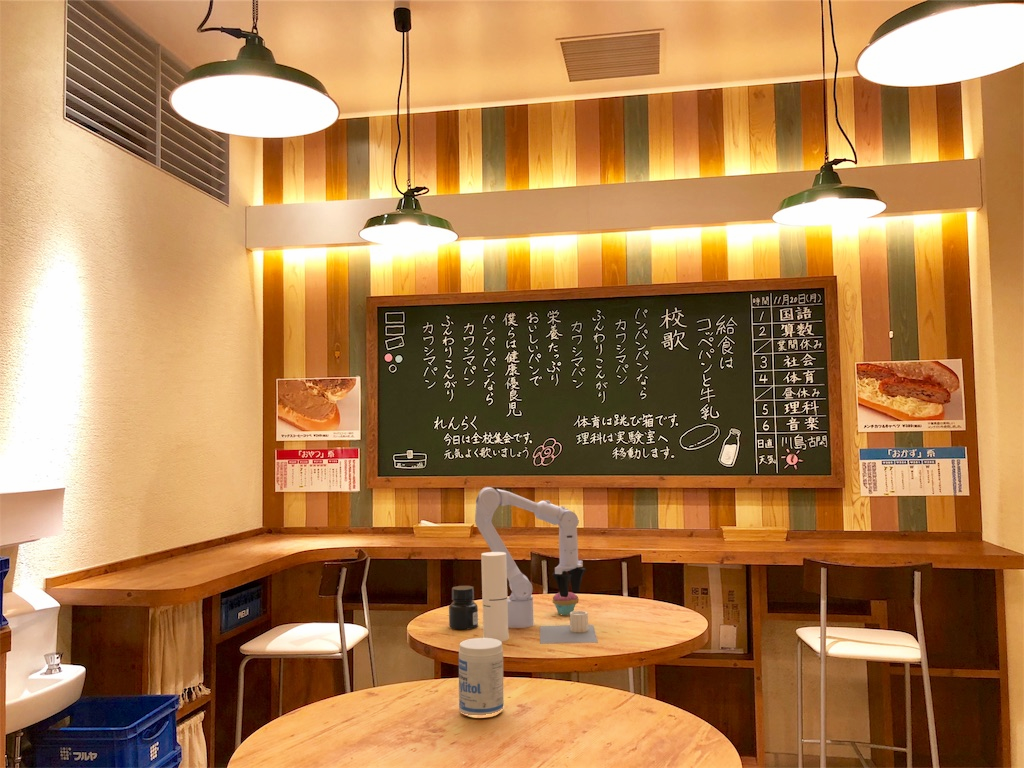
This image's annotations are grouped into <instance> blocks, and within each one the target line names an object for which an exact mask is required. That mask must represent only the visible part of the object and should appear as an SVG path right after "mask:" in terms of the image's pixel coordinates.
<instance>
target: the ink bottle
mask: <svg viewBox="0 0 1024 768" xmlns="http://www.w3.org/2000/svg"><path fill="white" fill-rule="evenodd" d="M474 590H475V589H474V586H471V585H458V586H453V587H452V588H451V600H452V602H451V604H450V605H449V606H448V619H449V621H448V625H449V628H451V629H452V630H457V631H465V630H466V631H467V630H472V629H476V628H478V626H479V612H478V611H479V609H478V604H477V603H476V602H475V601H474V600H475V591H474Z"/></svg>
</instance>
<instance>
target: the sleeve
mask: <svg viewBox="0 0 1024 768" xmlns="http://www.w3.org/2000/svg"><path fill="white" fill-rule="evenodd" d="M569 625H570V630H571V631H572V632H586V631H588V625H589V613H588V611H584V610H574V611H572V612H570V615H569Z"/></svg>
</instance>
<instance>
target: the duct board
mask: <svg viewBox="0 0 1024 768" xmlns="http://www.w3.org/2000/svg"><path fill="white" fill-rule="evenodd" d="M587 643H588V644H589V643H590V644H591V643H599V641H598V637H597V634H596V630H595V626H594V624H588V631H586V632H572V631H571V630H570V624H569V625H568V624H567V625H539V644H542V645H543V644H545V645H546V644H548V645H549V644H587Z"/></svg>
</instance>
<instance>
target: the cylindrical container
mask: <svg viewBox="0 0 1024 768" xmlns="http://www.w3.org/2000/svg"><path fill="white" fill-rule="evenodd" d="M480 555H481V556H480V557H481V558H480V559H481V561H480V563H481V591H482V592H481V593H482V594H481V597H482V599H481V600H482V602H481V603H482V628H483V629H482V630H483V631H482V632H483V637H482V638H492V639H497V640H500V641H501V642H502V643H503V642H506V641H509V636H510V634H509V628H508V625H509V624H508V601H507V599H508V578H507V566H506V553H505V552H492V551H487V552H482V553H480Z"/></svg>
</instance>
